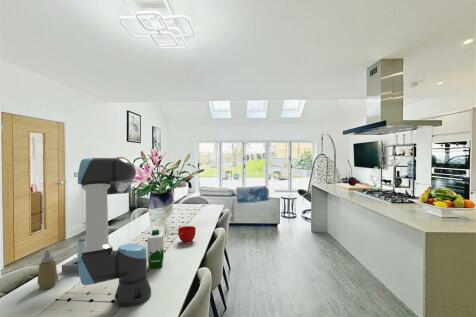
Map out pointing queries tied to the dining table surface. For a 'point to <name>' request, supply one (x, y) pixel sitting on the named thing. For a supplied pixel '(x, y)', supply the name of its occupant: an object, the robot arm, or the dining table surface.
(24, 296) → the dining table surface
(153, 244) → the milk carton
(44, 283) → the squeeze bottle
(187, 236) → the ceramic cup
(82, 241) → the cartridge
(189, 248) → the dining table surface
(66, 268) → the housing
